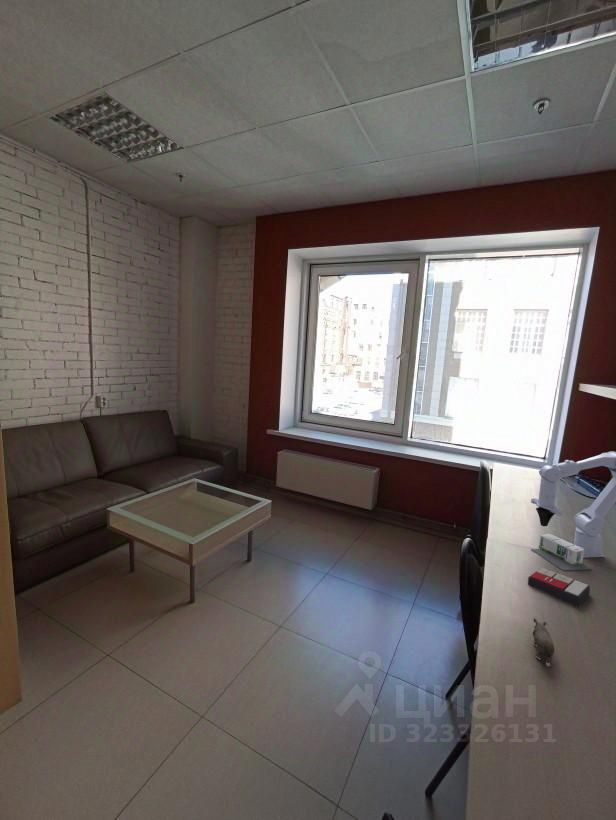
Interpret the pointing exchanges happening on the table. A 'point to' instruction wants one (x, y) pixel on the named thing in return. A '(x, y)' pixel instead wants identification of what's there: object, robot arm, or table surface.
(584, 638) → the table surface
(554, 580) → the red and white box
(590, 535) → the robot arm
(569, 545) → the syrup box
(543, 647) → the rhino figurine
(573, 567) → the mat
